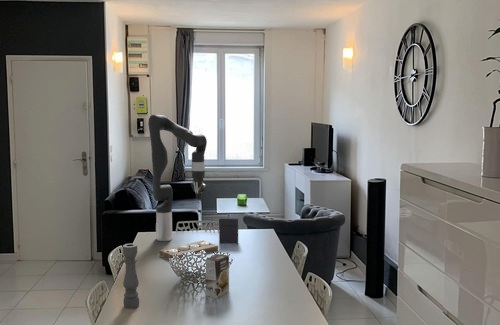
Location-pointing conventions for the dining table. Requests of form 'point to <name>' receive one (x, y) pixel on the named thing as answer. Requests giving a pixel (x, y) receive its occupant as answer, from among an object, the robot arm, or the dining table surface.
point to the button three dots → (194, 246)
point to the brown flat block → (207, 249)
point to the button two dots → (173, 251)
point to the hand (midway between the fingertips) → (198, 199)
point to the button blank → (184, 248)
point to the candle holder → (130, 277)
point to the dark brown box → (228, 230)
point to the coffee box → (217, 275)
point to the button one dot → (204, 244)
